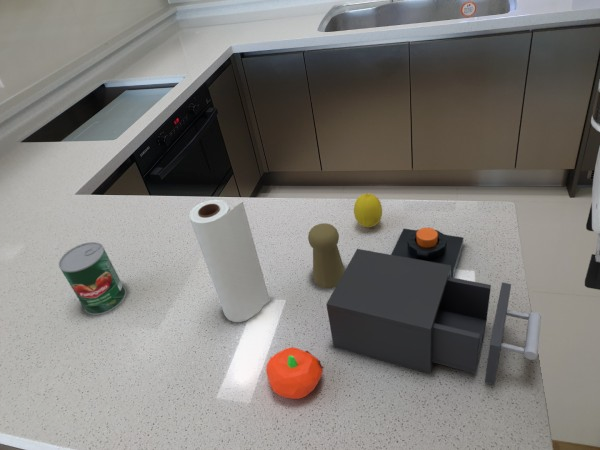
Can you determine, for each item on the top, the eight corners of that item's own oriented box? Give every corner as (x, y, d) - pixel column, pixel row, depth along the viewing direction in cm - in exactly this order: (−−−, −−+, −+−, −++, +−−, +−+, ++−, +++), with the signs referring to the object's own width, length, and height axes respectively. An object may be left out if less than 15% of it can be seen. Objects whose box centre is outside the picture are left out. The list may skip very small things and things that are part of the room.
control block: (462, 246, 84) (464, 229, 82) (453, 279, 78) (454, 261, 76) (403, 237, 89) (403, 220, 87) (389, 267, 83) (389, 250, 80)
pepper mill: (324, 262, 87) (317, 215, 80) (352, 271, 83) (347, 223, 77) (306, 282, 83) (297, 234, 76) (335, 293, 80) (327, 244, 73)
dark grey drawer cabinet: (449, 310, 73) (451, 265, 67) (430, 375, 64) (430, 329, 58) (361, 291, 79) (357, 248, 73) (333, 347, 70) (326, 303, 65)
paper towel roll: (218, 319, 79) (180, 219, 66) (234, 295, 83) (201, 196, 71) (255, 327, 76) (223, 224, 64) (270, 301, 80) (242, 200, 68)
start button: (439, 237, 82) (439, 229, 81) (434, 249, 79) (435, 241, 78) (419, 233, 83) (419, 226, 82) (414, 246, 81) (414, 238, 80)
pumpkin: (281, 357, 70) (273, 329, 67) (330, 369, 67) (325, 341, 64) (260, 397, 65) (251, 370, 62) (312, 413, 62) (305, 384, 58)
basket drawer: (537, 328, 66) (545, 290, 62) (530, 395, 59) (539, 356, 54) (414, 302, 74) (414, 265, 70) (394, 357, 66) (391, 320, 62)
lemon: (353, 221, 96) (349, 189, 91) (379, 216, 95) (377, 184, 91) (358, 237, 91) (355, 204, 86) (386, 232, 91) (384, 198, 86)
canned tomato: (96, 321, 83) (69, 277, 77) (77, 303, 88) (50, 260, 82) (134, 295, 87) (111, 251, 81) (114, 279, 92) (91, 236, 86)
